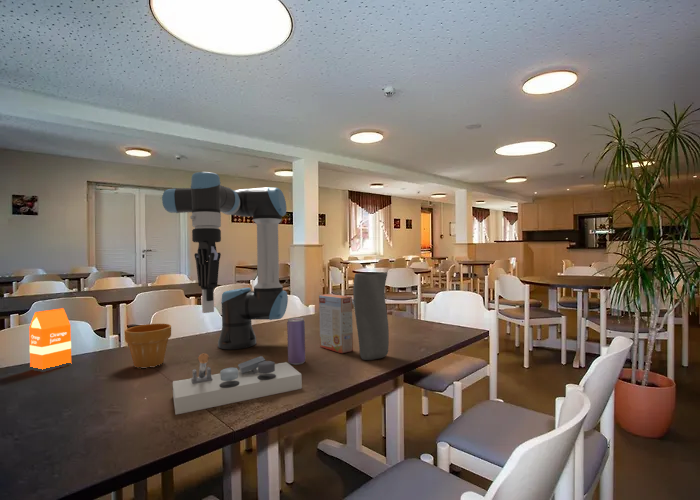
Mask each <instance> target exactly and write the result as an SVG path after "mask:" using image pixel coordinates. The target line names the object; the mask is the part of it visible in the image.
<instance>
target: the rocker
mask: <svg viewBox="0 0 700 500" xmlns="http://www.w3.org/2000/svg"><path fill="white" fill-rule="evenodd" d="M264 361H267V360H266V359H265V358H264V357H263V355H260V356H257V357H254V358H252V359H249V360H246V361H244V362H241V363H238V364H237V367H238V370H240V371H241V372H242V373H245V372H247V371H250V370H252V369H255V368H258V364H259V363H260V362H264Z"/></svg>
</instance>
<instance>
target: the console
mask: <svg viewBox="0 0 700 500" xmlns="http://www.w3.org/2000/svg"><path fill="white" fill-rule="evenodd" d="M197 373H198V372H197V369H195V368H194V369H192V377H190V378H186V379H180V380H173V381H172V398H173V405H174V412H175V413H174V414H175V415H176V416H177V415H180V414H181V415H182V414H186V413H191V412H195V411H200V410H205V409H209V408H213V407H214V408H215V407H220V406H224V405H229V404H234V403H238V402H244V401H250V400H254V399H258V398H262V397H267V396H272V395H276V394H282V393H287V392H291V391H296V390H297V391H298V390H301V389H302V388H303V383H302V379H303V378H302V373H301V372H299V371H298V370H297V369H296V368H294V366H292V364H290V363H289V362H288V361H285V362H279V363H275V371H273V372H271V373H259V372H258V368H255V369H252V370H250V371H247V372H245V373H242V372H241V371H240V370H239V369H238V378H237V379H235V380H231V381H222V380H221V379H220V372H219V373H214V374H212V370H211V367H210V366H206V375H205V377H204V378H200V377H199V376H198V374H197Z"/></svg>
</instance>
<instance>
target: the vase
mask: <svg viewBox="0 0 700 500" xmlns="http://www.w3.org/2000/svg"><path fill="white" fill-rule="evenodd" d="M388 274H389V273H388V272H374V271H371V272H369V271H366V272H358V273H357V272H356V273H354V277H353V279H354V280H353V287H352V288H353V289H352V291H353V295H352V300H353V308H354V317H355V321H356V322H355V323H356V330H357V337H358V349H359V356H360V358H361V360H364V361H373V360H377V359H382V358H384V357H386V356H387V355H388V352H389V343H390V342H389V341H390V340H389V339H390V337H389V336H390V335H389V334H390V333H389V319H388V317H389V316H388V310H387V305H386V297H385V292H386V290H385V289H386V283H387V282H386V281H387V278H388Z"/></svg>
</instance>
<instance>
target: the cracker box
mask: <svg viewBox="0 0 700 500" xmlns="http://www.w3.org/2000/svg"><path fill="white" fill-rule="evenodd" d="M318 297H319V298H318V299H319V303H318V304H319V307H318V310H319V347H320V348H322V349H326V350H330V351H333V352H335V353H339V354H344V353H346V354H347V353H350V352H353V351H354V341H353V340H354V336H353V335H354V334H353V333H354V332H353V296H349V295H341V294H332V293H326V294H319V296H318Z"/></svg>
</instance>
